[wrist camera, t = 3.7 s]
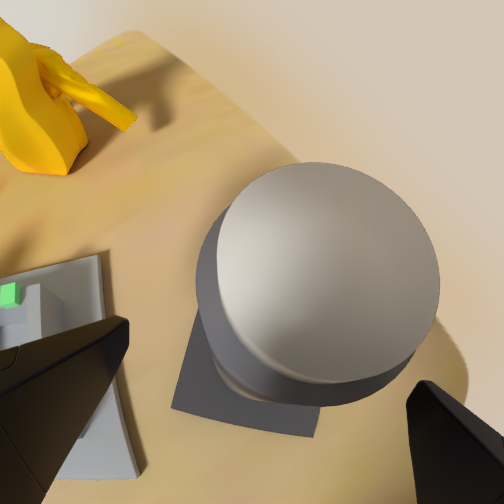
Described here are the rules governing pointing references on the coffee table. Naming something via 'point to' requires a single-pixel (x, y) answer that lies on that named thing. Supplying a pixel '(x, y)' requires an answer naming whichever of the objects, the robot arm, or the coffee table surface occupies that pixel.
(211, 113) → the coffee table surface
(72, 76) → the figure statuette
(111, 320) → the robot arm
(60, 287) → the port
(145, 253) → the coffee table surface
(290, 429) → the pad
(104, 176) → the coffee table surface
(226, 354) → the grey cylindrical piece
